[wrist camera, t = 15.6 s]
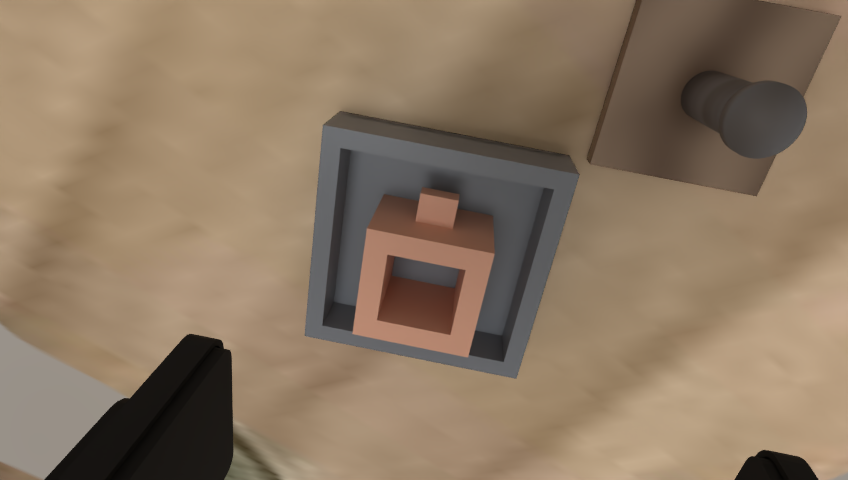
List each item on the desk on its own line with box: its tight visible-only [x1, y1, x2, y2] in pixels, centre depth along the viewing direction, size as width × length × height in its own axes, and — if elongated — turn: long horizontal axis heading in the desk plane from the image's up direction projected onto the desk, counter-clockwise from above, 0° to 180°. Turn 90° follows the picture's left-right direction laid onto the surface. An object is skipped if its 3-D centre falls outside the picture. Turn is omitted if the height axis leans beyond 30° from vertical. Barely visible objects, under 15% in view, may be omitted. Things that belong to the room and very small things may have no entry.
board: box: [587, 0, 841, 196], centre depth 24 cm, size 9×9×7 cm
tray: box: [305, 111, 580, 378], centre depth 31 cm, size 13×13×4 cm
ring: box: [352, 187, 495, 357], centre depth 29 cm, size 6×8×5 cm
